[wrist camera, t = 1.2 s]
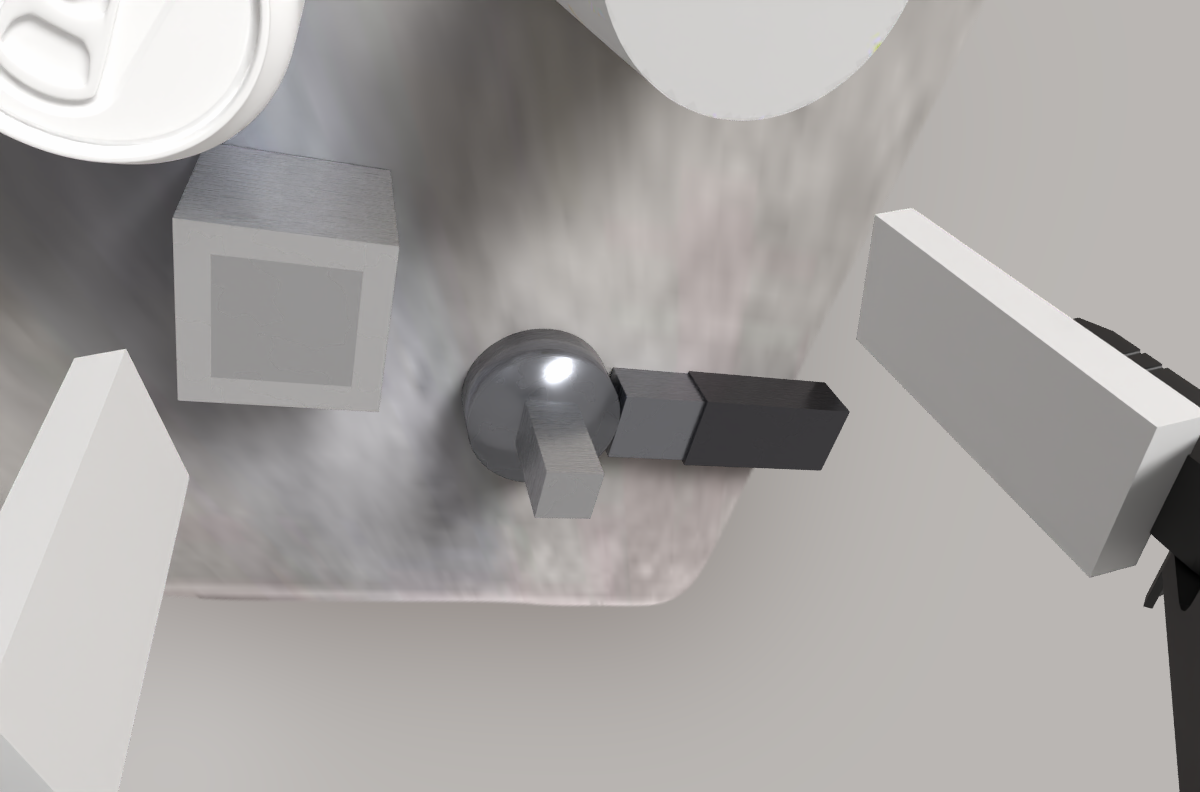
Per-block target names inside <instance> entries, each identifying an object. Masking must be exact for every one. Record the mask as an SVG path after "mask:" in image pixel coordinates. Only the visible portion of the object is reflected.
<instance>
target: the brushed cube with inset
mask: <svg viewBox="0 0 1200 792" xmlns="http://www.w3.org/2000/svg"><path fill="white" fill-rule="evenodd" d="M172 225H173V258H174V291H175V324H176V357H177V391H178V401H195V402H213V403H230V404H248V405H265V406H282V407H300V408H317V409H335V410H352V411H370V412H379V405H380V397H381V389H382V381H383V373H384V365H385V357H386V349H387V341H388V333H389V325H390V317H391V309H392V301H393V293H394V285H395V278H396V270H397V262H398V254H399V239H398V231H397V222H396V214H395V205H394V197H393V188H392V180H391V171H390V170H384V169H378V168H371V167H365V166H358V165H352V164H346V163H339V162H333V161H326V160H320V159H314V158H307V157H301V156H294V155H288V154H282V153H275V152H269V151H262V150H256V149H250V148H243V147H237V146H230V145H224V144H220V145H218V146H216V147H214V148H211V149H209V150H207V151H204V152H202V153H201V154H200V157H199V159H198V161H197V163H196V166H195V168H194V170H193V173H192V175H191V177H190V179H189V182H188V184H187V186H186V188H185V191H184V193H183V195H182V197H181V200H180V202H179V204H178V206H177V209H176V211H175V213H174V215H173V218H172Z"/></svg>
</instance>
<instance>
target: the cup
mask: <svg viewBox="0 0 1200 792" xmlns="http://www.w3.org/2000/svg"><path fill="white" fill-rule="evenodd" d="M556 1H557V2H558V3H559V4H560V5H562V6H563V7H564V8H565V9H566V10H567V11H568V12H570V13H571V14H572V15H573V16H574V17H575V18H576V19H578V20H579V21H580V22H581V23H582V24H583V25H584V26H586V27H587V28H588V29H589V30H590V31H591V32H592V33H593V34H595V35H596V36H597V37H598V38H599V39H600V40H601V41H603V42H604V43H605V44H606V45H607V46H608V47H609V48H611V49H612V50H613V51H614V52H615V53H616V54H617V55H619V56H620V57H621V58H622V59H623V60H624V61H625V62H627V63H628V64H629V65H630V66H631V67H632V68H633V69H635V70H636V71H637V72H638V73H639V74H640V75H641V76H643V77H644V78H645V79H646V80H647V81H648V82H649V83H651V84H652V85H653V86H654V87H655V88H656V89H657V90H659V91H660V92H661V93H662V94H664V95H665V96H666V97H668V98H669V99H671V100H672V101H674V102H676V103H677V104H679V105H681V106H683V107H685V108H687V109H689V110H691V111H694V112H696V113H699V114H702V115H705V116H709V117H713V118H718V119H724V120H734V121H748V120H760V119H766V118H771V117H775V116H780V115H783V114H786V113H789V112H792V111H795V110H797V109H799V108H802V107H804V106H806V105H808V104H810V103H812V102H814V101H816V100H818V99H819V98H821V97H823V96H825V95H826V94H828V93H829V92H831V91H832V90H834V89H835V88H836V87H838V86H839V85H840V84H842V83H843V82H844V81H845V80H847V79H848V78H849V77H850V76H851V75H852V74H853V73H855V72H856V71H857V70H858V69H859V68H860V67H861V66H862V65H863V64H864V63H865V62H866V61H867V60H868V59H869V57H870V56H871V55H872V54H873V53H874V52H875V51H876V49H877V48H878V47H879V46H880V44H881V43H882V42H883V41H884V39H885V38H886V36H887V35H888V34H889V32H890V31H891V29H892V28H893V26H894V25H895V23H896V21H897V20H898V18H899V16H900V15H901V13H902V11H903V9H904V7H905V6H906V4H907V2H908V0H556Z"/></svg>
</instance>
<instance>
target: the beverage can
mask: <svg viewBox="0 0 1200 792" xmlns="http://www.w3.org/2000/svg"><path fill="white" fill-rule="evenodd" d="M304 4H305V0H0V132H1V133H2V134H4V135H6V136H9V137H11V138H13V139H15V140H17V141H20V142H22V143H24V144H27V145H29V146H32V147H34V148H37V149H40V150H43V151H46V152H49V153H53V154H56V155H60V156H64V157H68V158H73V159H78V160H84V161H91V162H101V163H114V164H154V163H163V162H169V161H174V160H179V159H183V158H187V157H190V156H193V155H197V154H199V153H202V152H204V151H207V150H209V149H211V148H214V147H216V146H218V145H220V144H221V143H223V142H225V141H227V140H228V139H230V138H231V137H233V136H234V135H236V134H237V133H239V132H240V131H241V130H243V129H244V128H245V127H246V126H247V125H249V124H250V123H251V122H252V121H253V120H254V119H255V118H256V117H257V116H258V115H259V114H260V113H261V111H262V110H263V109H264V108H265V107H266V105H267V104H268V103H269V101H270V100H271V98H272V97H273V95H274V94H275V92H276V91H277V89H278V87H279V85H280V83H281V81H282V79H283V77H284V75H285V73H286V70H287V68H288V65H289V62H290V59H291V56H292V53H293V49H294V45H295V41H296V37H297V33H298V29H299V24H300V20H301V16H302V12H303V8H304Z"/></svg>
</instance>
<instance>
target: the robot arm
mask: <svg viewBox="0 0 1200 792" xmlns="http://www.w3.org/2000/svg"><path fill="white" fill-rule="evenodd" d="M856 339H857V340H858V341H859V342H860V343H861V344H862V345H863V346H864V347H865V348H866V349H867V350H868V351H869V352H870V353H871V354H872V355H873V357H875V358H876V360H877V361H878V362H879V363H880V364H882V366H883V367H884V368H885V369H886V370H887V371H888V372H889V373H890V374H891V375H892V376H893V377H894V378H895V379H896V380H897V381H898V382H899V383H900V384H901V385H902V386H903V387H904V388H905V389H906V390H907V391H908V392H909V393H910V394H911V395H912V396H913V397H914V398H915V399H916V400H917V402H919V404H920V405H922V407H923V408H924V409H925V410H926V411H927V412H928V413H929V414H930V415H931V416H932V417H933V418H934V419H935V420H936V421H937V422H938V423H939V424H940V425H941V426H942V427H943V428H944V429H945V430H946V431H947V432H948V433H949V434H950V435H951V436H952V437H953V438H954V439H955V440H956V441H957V442H958V443H959V445H961V447H962V448H963V449H964V450H965V451H966V452H967V453H968V454H969V455H970V456H971V457H972V458H973V459H974V460H975V461H976V462H977V463H978V464H979V465H980V466H981V467H982V468H983V469H984V470H985V471H986V472H987V473H988V474H989V475H990V476H991V477H992V478H993V479H994V480H995V481H996V482H997V483H998V484H999V485H1000V486H1001V487H1002V488H1003V489H1004V491H1005V492H1007V493H1008V495H1009V496H1011V498H1012V499H1013V500H1014V501H1015V502H1016V503H1017V504H1018V505H1019V506H1020V507H1021V508H1022V509H1023V510H1024V511H1025V512H1026V513H1027V514H1028V515H1029V516H1030V517H1031V518H1032V519H1033V520H1034V521H1035V522H1036V523H1037V524H1038V525H1039V526H1040V527H1041V528H1042V529H1043V530H1044V531H1045V532H1046V533H1047V535H1048V536H1049V537H1050V538H1052V540H1053V541H1054V542H1055V543H1056V544H1057V545H1058V546H1059V547H1060V548H1061V549H1062V550H1063V551H1064V552H1065V553H1066V554H1067V555H1068V556H1069V557H1070V558H1071V559H1072V560H1073V561H1074V562H1075V563H1076V564H1077V565H1078V566H1079V567H1080V568H1081V569H1082V570H1083V571H1084V572H1085V573H1086V574H1087V575H1088V576H1089V578H1090V577H1094V576H1098V575H1101V574H1105V573H1109V572H1112V571H1116V570H1120V569H1123V568H1127V567H1131V566H1134V565H1136V564H1137V562H1138V559H1139V558H1140V556H1141V554H1142V551H1143V549H1144V547H1145V545H1146V543H1147V541H1148V539H1149V537H1150V535H1151V534H1152V535H1153V536H1154V537H1155V538H1156V539H1157V540H1158V541H1159V542H1161V543H1162V544H1163V545H1164V546H1165V547H1166V548H1167V549H1169V550H1170V551H1169V553H1168V555H1167V557H1166V559H1165V561H1164V563H1163V564H1162V566H1161V568H1160V570H1159V572H1158V574H1157V576H1156V578H1155V580H1154V582H1153V584H1152V585H1151V587H1150V589H1149V591H1148V593H1147V595H1146V598H1145V602H1144V606H1145V607H1148V608H1153V606H1154V604H1155V602H1156V601H1157V599H1158V597H1159V596H1161V595H1163V594H1164V604H1165V617H1166V628H1167V641H1168V653H1169V666H1170V678H1171V691H1172V703H1173V716H1174V728H1175V740H1176V753H1177V765H1178V778H1179V789H1180V792H1200V389H1198V388H1197V387H1195V386H1194V385H1192V384H1191V383H1189V382H1188V381H1186V380H1185V379H1183V378H1182V377H1180V376H1179V375H1177V374H1176V373H1174V372H1173V371H1172V370H1170V369H1169V368H1165V369H1163V368H1162V364H1161V363H1159V362H1158V361H1157V360H1155V359H1154V358H1152V357H1151V356H1149V355H1148V354H1146V353H1143V354H1141V353H1140V349H1139V348H1137V347H1136V346H1134V345H1133V344H1131V343H1130V342H1128V341H1127V340H1125V339H1124V338H1122V337H1121V336H1120V335H1118V334H1116V333H1115V332H1114V331H1111V330H1109V329H1106V328H1104V327H1101V326H1099V325H1096V324H1093V323H1091V322H1088V321H1086V320H1083V319H1081V318H1075V319H1072V318H1070V317H1069V316H1067V315H1066V314H1064V313H1063V312H1062V311H1060V310H1058V309H1057V308H1056V307H1054V306H1053V305H1051V304H1050V303H1049V302H1047V301H1046V300H1044V299H1043V298H1041V297H1040V296H1038V295H1037V294H1035V293H1034V292H1032V291H1031V290H1030V289H1028V288H1027V287H1026V286H1024V285H1023V284H1021V283H1020V282H1018V281H1017V280H1015V279H1014V278H1012V277H1011V276H1010V275H1008V274H1007V273H1005V272H1004V271H1002V270H1001V269H1000V268H998V267H997V266H995V265H994V264H992V263H991V262H989V261H988V260H986V259H985V258H984V257H982V256H981V255H979V254H978V253H977V252H975V251H974V250H972V249H971V248H969V247H968V246H966V245H965V244H964V243H962V242H961V241H959V240H958V239H956V238H955V237H953V236H952V235H951V234H949V233H948V232H946V231H945V230H943V229H942V228H941V227H939V226H937V225H936V224H935V223H933V222H932V221H930V220H929V219H928V218H926V217H925V216H923V215H922V214H920V213H919V212H917V211H916V210H914V209H913V208H908V209H903V210H897V211H891V212H886V213H880V214H875V218H874V224H873V231H872V238H871V244H870V251H869V258H868V264H867V271H866V278H865V285H864V291H863V298H862V304H861V311H860V318H859V325H858V331H857V338H856ZM188 481H189V475H188V473H187V471H186V468H185V466H184V464H183V462H182V460H181V458H180V456H179V454H178V452H177V450H176V448H175V446H174V444H173V442H172V440H171V438H170V436H169V434H168V432H167V430H166V428H165V426H164V424H163V422H162V420H161V418H160V416H159V414H158V412H157V410H156V408H155V406H154V404H153V402H152V400H151V398H150V396H149V394H148V392H147V390H146V388H145V386H144V384H143V382H142V380H141V378H140V376H139V374H138V372H137V370H136V368H135V366H134V364H133V362H132V360H131V358H130V356H129V354H128V352H127V350H126V349H122V350H117V351H111V352H106V353H100V354H95V355H89V356H83V357H78V358H74V360H73V362H72V364H71V367H70V369H69V371H68V373H67V375H66V377H65V379H64V381H63V383H62V385H61V387H60V389H59V391H58V393H57V395H56V397H55V400H54V402H53V404H52V406H51V408H50V410H49V412H48V414H47V416H46V418H45V420H44V422H43V424H42V426H41V428H40V430H39V433H38V435H37V437H36V439H35V441H34V443H33V445H32V447H31V449H30V451H29V453H28V455H27V457H26V459H25V461H24V463H23V466H22V468H21V470H20V472H19V474H18V476H17V478H16V480H15V482H14V484H13V486H12V488H11V490H10V492H9V494H8V496H7V499H6V501H5V503H4V505H3V507H2V509H1V511H0V792H118V791H119V787H120V782H121V778H122V774H123V769H124V764H125V760H126V756H127V751H128V747H129V742H130V738H131V733H132V729H133V725H134V720H135V716H136V711H137V707H138V702H139V698H140V694H141V689H142V685H143V681H144V676H145V672H146V667H147V663H148V658H149V654H150V650H151V645H152V641H153V636H154V632H155V628H156V622H157V618H158V614H159V610H160V605H161V601H162V597H163V592H164V588H165V583H166V579H167V574H168V570H169V566H170V561H171V557H172V552H173V548H174V543H175V539H176V535H177V530H178V526H179V521H180V517H181V512H182V508H183V504H184V499H185V495H186V490H187V486H188Z"/></svg>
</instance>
